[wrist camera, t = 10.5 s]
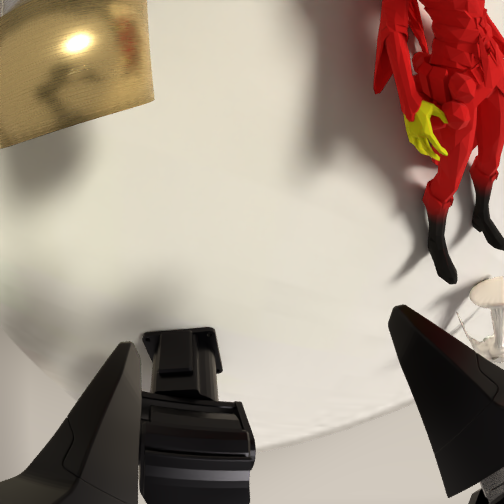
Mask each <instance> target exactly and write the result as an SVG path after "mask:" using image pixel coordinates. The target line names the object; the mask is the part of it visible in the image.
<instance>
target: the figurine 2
mask: <svg viewBox="0 0 504 504" xmlns="http://www.w3.org/2000/svg"><path fill="white" fill-rule="evenodd" d="M469 297H470V300H471V301H472V302H473V303H474V304H475V305H477V306H480V307H483V308H490V309H491V317H492V321H493V330H494V334H493V335H492V336H488V337H487V338H484V340H483V341H482V342H478V341H477V340H475V339H473V338H471V337H470V336H469V335H468V333H467V332H466V330H465V328H464V324H463V322H462V321H461V319H460V317H459V314H458V313H457V312H456V313H457V315H458V318H459V320H460V323H461V325H462V327H463V329H464V331H465V334H466V336H467V338H468V339H469V341H470V342H471V344H472V346H473V348H474V351H475V352H476V353H478V354H480V355H481V356H483V357H484V358H486V359H487V360H489V361H490V362H497V363H501V362H504V276H499V277H494V278H490V279H487V280H484V281H482V282H480V283H479V284H477V285H476V286H474V287H473V288H472V290H471V291H470V294H469Z"/></svg>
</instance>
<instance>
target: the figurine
mask: <svg viewBox="0 0 504 504" xmlns="http://www.w3.org/2000/svg"><path fill="white" fill-rule="evenodd" d="M419 1H420V2H421V3H422V4H423V5H424V6H425V7H424V9H425V10H426V12H427V13H428V14H429V15H430V17H431V19H432V20H433V22H432V30H433V33H434V36H435V37H434V39H433V43H432V54H429V51H428V47H427V43H426V39H425V36H424V32H423V31H424V30H423V25H422V20H421V15H420V11H419V7H418V2H417V0H382V8H381V19H380V27H379V33H378V39H377V51H376V62H375V72H374V86H373V89H374V92H375V94H378V93H380V92H381V91H382V90H383V88H384V87H385V85H386V84H387V82H388V81H389V79H390V77H391V76H392V74H394V78H395V82H396V86H397V91H398V95H399V99H400V104H401V110H402V112H403V115H404V121H405V126H406V131H407V135H408V139H409V142H410V143H412V144H413V145H415V148H416V149H417V150H418V151H419V152H420V153H421V154H424V155H427V156H428V155H429V156H430V157H431V158H432V162H433V163H435V164H436V165H437V166H438V173H437V174H436V176H435V177H434V178H433V179H432V180H430V181H429V182H428V183H427V186H426V189H425V193H424V196H423V199H422V201H423V203H424V205H425V207H426V210H427V215H428V221H429V239H428V248H429V251H430V254H431V256H432V259H433V261H434V264H435V267H436V271H437V274H438V276H439V277H441V278H442V279H443V280H445V281H446V282H447V283H449V284H456V283H457V271H456V268H455V267H454V265H453V263H452V261H451V258H450V256H449V254H448V250H447V246H446V242H445V237H444V233H445V225H446V217H447V213H448V209H449V207H450V206H452V203H453V200H454V199H453V195H454V193H455V192H456V191H457V189H458V187H459V184H460V181H461V178H462V176H463V173H464V170H465V168H466V165H467V162H468V160H469V157H470V154H471V151H472V150H473V149H474V148H475V147H476V146H477V145H478V156H476V157H475V160H474V162H473V164H472V166H471V168H470V175H471V178H472V180H473V184H474V188H475V192H476V204H475V210H474V213H473V220H472V224H473V227H474V228H475V229H477V230H478V231H479V232H481V231H482V232H483V234H484V236H485V238H486V240H487V242H488V243H489V244H490V245H491V246H493V247H494V248H496V249H500V250H503V251H504V238H503V236H502V235H501V234H500V232H499V231H498V229H497V228H496V226H495V225H494V223H493V222H492V220H491V219H490V214H489V205H488V204H489V199H490V195H491V190H492V185H493V181H494V180H495V179H496V180H497V177H498V174H499V173H498V171H497V168H498V166H499V162H500V156H501V152H502V149H503V145H504V59H503V58H504V38H503V37H502V35H501V34H500V32H499V31H498V29H497V28H496V26H495V25H494V23H493V22H492V20H491V19H490V18H489V16H488V14H487V13H486V12H487V9H485V8H484V4H485V0H419ZM408 24H409V26H410V28H411V30H412V32H413V33H414V35H415V37H416V38H417V39H418V41H419V44H420V46H421V49H422V51H423V52H420V51H419V52H417V53H415V54H414V56H413V58H412V63H413V67H414V71H415V72H416V73H417V74H416V75H414V76H412V71H411V62H410V54H409V50H408V46H407V42H408V38H409V36H408V32H407V30H408ZM427 138H428V139H429V141H430V142H431V144H432V148H431V147H430V145H429V142H428V140H427Z"/></svg>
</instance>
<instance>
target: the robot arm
mask: <svg viewBox="0 0 504 504" xmlns="http://www.w3.org/2000/svg"><path fill="white" fill-rule="evenodd" d="M388 328H389V331H390V334H391V337H392V340H393V343H394V347H395V350H396V353H397V356H398V359H399V362H400V365H401V368H402V370H403V372H404V375H405V377H406V380H407V382H408V384H409V387H410V389H411V392H412V394H413V397H414V399H415V402H416V405H417V407H418V410H419V412H420V415H421V418H422V420H423V423H424V426H425V429H426V431H427V434H428V437H429V440H430V443H431V446H432V449H433V452H434V454H435V458H436V461H437V464H438V467H439V470H440V474H441V477H442V480H443V483H444V487H445V490H446V494H447V496H448V498H450V497H452V496H454V495H456V494H458V493H460V492H462V491H464V490H466V489H468V488H470V487H471V486H473V485H475V484H477V483H479V482H480V484H481V487H482V488H481V489H479V490H478V491H476V492H474V493H473V494H472V496H471V498H470V501H469V503H468V504H504V370H503V369H501V368H500V367H498V366H496V365H495V364H493V363H492V362H490V361H489V360H487V359H486V358H484V357H483V356H481V355H480V354H478V353H476V352H475V351H474V350H472V349H471V348H469V347H468V346H467V345H465V344H464V343H462V342H461V341H459V340H458V339H456V338H455V337H453V336H452V335H450V334H449V333H447V332H446V331H444V330H443V329H441V328H440V327H438V326H437V325H435V324H434V323H432V322H431V321H429V320H428V319H426V318H425V317H423V316H422V315H420V314H419V313H417V312H416V311H414V310H412V309H411V308H409V307H408V306H406V305H398V306H395V307H394V308H393V310H392V313H391V316H390V319H389V322H388ZM142 340H143V342H144V345H145V347H146V349H147V351H148V354H149V356H150V358H151V360H152V362H153V367H152V379H151V391H150V392H144V391H142V390H141V360H140V356H139V354H138V352H137V350H136V348H135V346H134V344H133V343H132V342H130V341H129V342H120V343H119V344H118V346H117V347H116V348H115V350H114V351H113V352H112V354H111V355H110V357H109V358H108V359H107V361H106V362H105V363H104V365H103V366H102V367H101V369H100V370H99V372H98V373H97V374H96V376H95V377H94V379H93V380H92V381H91V383H90V384H89V386H88V387H87V388H86V390H85V391H84V393H83V394H82V395H81V397H80V398H79V400H78V401H77V403H76V404H75V406H74V407H73V408H72V410H71V411H70V413H69V414H68V416H67V417H68V418H66V419H65V420H64V422H63V423H62V424H61V426H60V427H59V429H58V430H57V432H56V433H55V434H54V436H53V437H52V438H51V440H50V441H49V442H48V443H47V444H46V446H45V447H44V448H43V449H42V451H41V452H40V453H39V454H38V455H37V457H36V458H35V459H34V460H33V462H32V463H31V464H30V465H29V466H28V467H27V468H26V470H24V471H23V472H22V473H21V474H19V475H17V476H16V477H13V478H10V479H8V480H5V481H2V482H0V504H138V465H139V487H140V493H141V495H142V496H143V498H144V499H145V501H146V503H147V504H249V503H250V492H249V477H250V470H251V469H252V468H253V465H254V462H255V453H256V448H255V440H254V436H253V433H252V430H251V428H250V425H249V422H248V419H247V416H246V414H245V411H244V408H243V405H242V402H237V401H235V402H223V401H218V389H217V376H216V374H218V373H221V372H222V371H223V369H222V363H221V358H220V353H219V348H218V343H217V338H216V332H215V329H213V328H209V327H208V328H198V329H188V330H176V331H164V332H150V333H144V334H143V338H142Z"/></svg>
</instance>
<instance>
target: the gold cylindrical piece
mask: <svg viewBox="0 0 504 504" xmlns="http://www.w3.org/2000/svg"><path fill="white" fill-rule="evenodd" d="M153 100H155V99H154V90H153V80H152V70H151V59H150V46H149V32H148V14H147V0H2V4H1V17H0V149H2V148H5V147H9V146H12V145H15V144H18V143H21V142H24V141H27V140H30V139H33V138H36V137H39V136H42V135H45V134H48V133H51V132H54V131H57V130H60V129H63V128H66V127H70V126H73V125H76V124H79V123H82V122H86V121H89V120H92V119H96V118H99V117H102V116H106V115H109V114H113V113H116V112H119V111H123V110H126V109H130V108H133V107H136V106H140V105H143V104H146V103H149V102H151V101H153Z"/></svg>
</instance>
